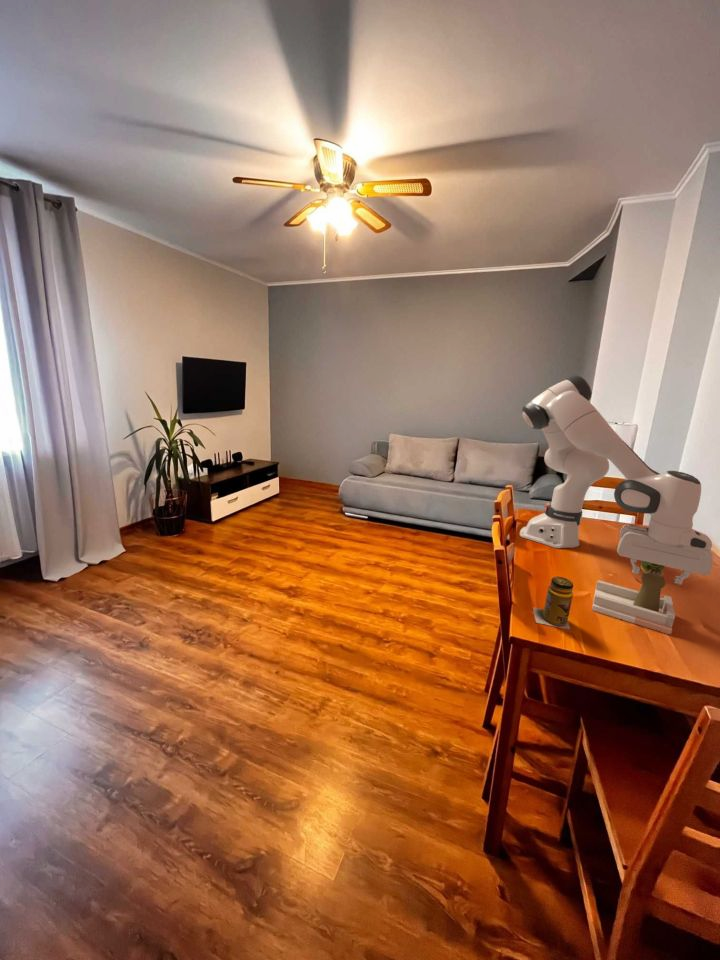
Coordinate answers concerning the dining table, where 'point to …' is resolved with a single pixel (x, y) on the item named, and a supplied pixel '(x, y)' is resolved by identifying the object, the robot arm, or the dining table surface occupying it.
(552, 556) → the dining table surface
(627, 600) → the white tray
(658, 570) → the hamburger
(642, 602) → the cork
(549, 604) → the condiment
